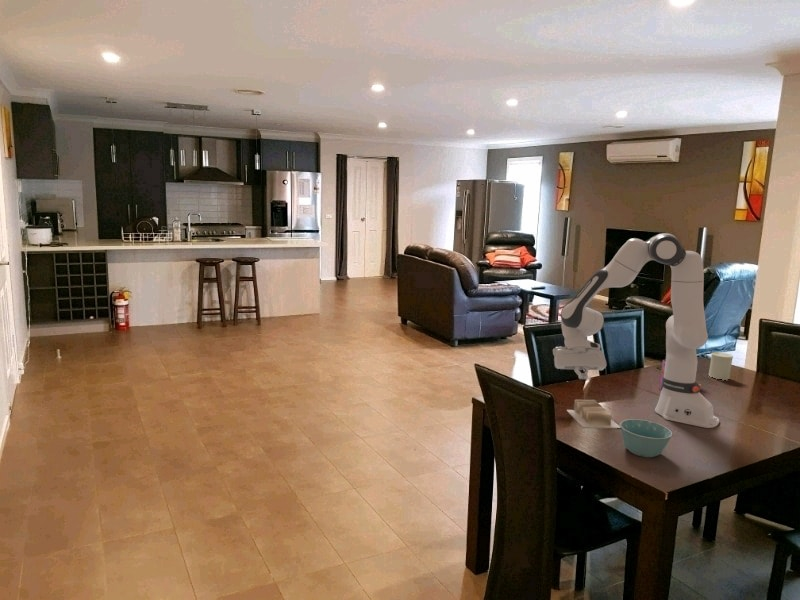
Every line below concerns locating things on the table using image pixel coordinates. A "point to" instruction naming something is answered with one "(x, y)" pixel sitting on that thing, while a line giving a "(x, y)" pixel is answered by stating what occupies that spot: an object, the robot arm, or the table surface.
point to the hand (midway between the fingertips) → (583, 378)
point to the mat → (586, 425)
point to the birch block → (592, 412)
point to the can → (720, 365)
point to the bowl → (644, 437)
